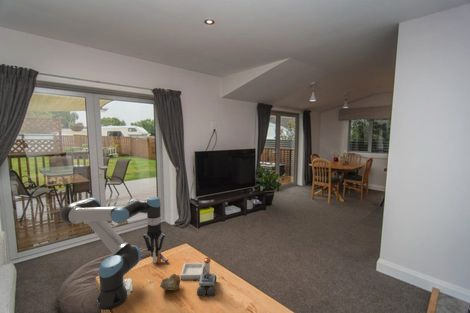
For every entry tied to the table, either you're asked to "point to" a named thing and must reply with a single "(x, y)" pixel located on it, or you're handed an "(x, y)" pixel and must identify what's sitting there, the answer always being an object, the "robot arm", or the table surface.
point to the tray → (192, 271)
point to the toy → (160, 257)
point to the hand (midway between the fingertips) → (155, 261)
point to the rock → (171, 282)
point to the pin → (207, 268)
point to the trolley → (203, 282)
